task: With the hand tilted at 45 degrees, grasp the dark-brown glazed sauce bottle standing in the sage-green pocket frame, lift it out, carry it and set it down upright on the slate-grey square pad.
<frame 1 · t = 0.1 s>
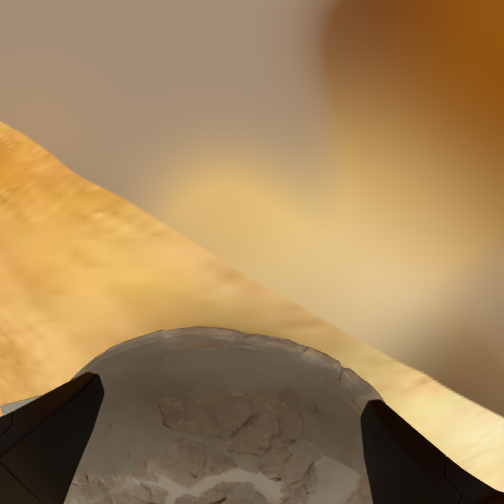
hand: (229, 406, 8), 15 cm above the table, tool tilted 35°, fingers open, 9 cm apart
ceramic bowl: (226, 451, 21), on the table
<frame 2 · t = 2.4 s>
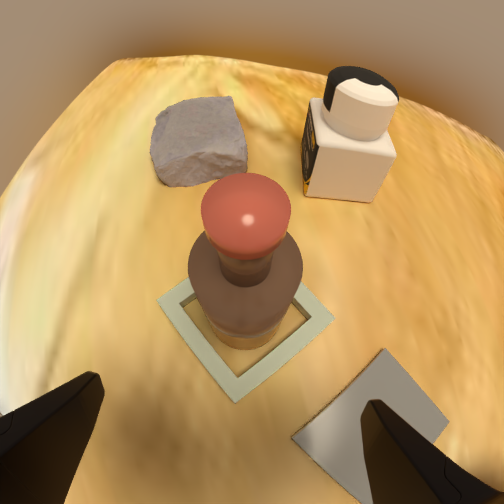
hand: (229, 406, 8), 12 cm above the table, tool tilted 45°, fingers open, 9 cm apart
slate pad: (378, 433, 18), on the table
medicine bottle: (334, 175, 29), on the table
stone block: (196, 149, 31), on the table
sauce bottle: (245, 282, 16), in the pocket frame
pocket frame: (244, 315, 22), on the table
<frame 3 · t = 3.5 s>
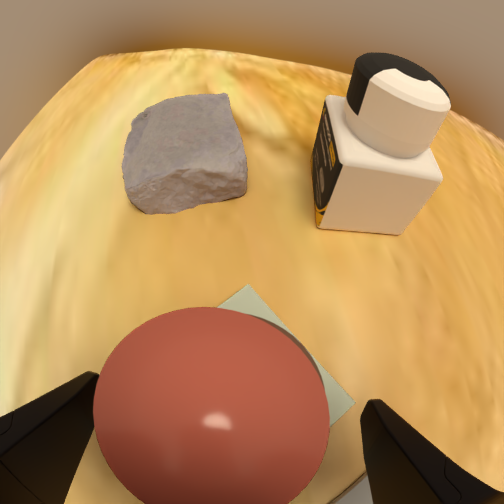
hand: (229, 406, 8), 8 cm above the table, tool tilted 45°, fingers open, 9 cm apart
medicine bottle: (354, 197, 23), on the table
stone block: (182, 161, 24), on the table
sauce bottle: (231, 402, 9), in the pocket frame
pocket frame: (236, 397, 15), on the table
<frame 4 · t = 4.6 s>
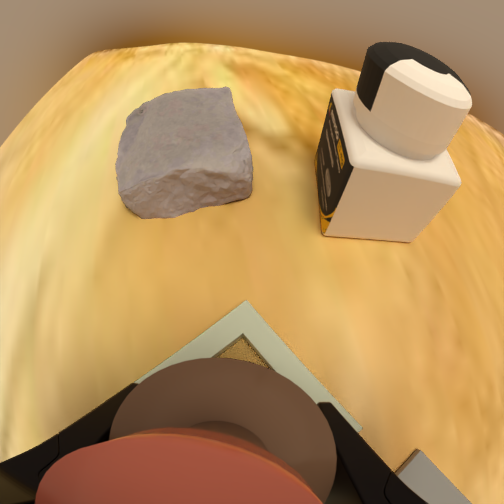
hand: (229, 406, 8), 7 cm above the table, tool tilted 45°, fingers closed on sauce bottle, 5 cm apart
medicine bottle: (361, 201, 21), on the table
stone block: (181, 160, 22), on the table
sauce bottle: (225, 447, 7), in the pocket frame, touching gripper
pocket frame: (233, 423, 14), on the table
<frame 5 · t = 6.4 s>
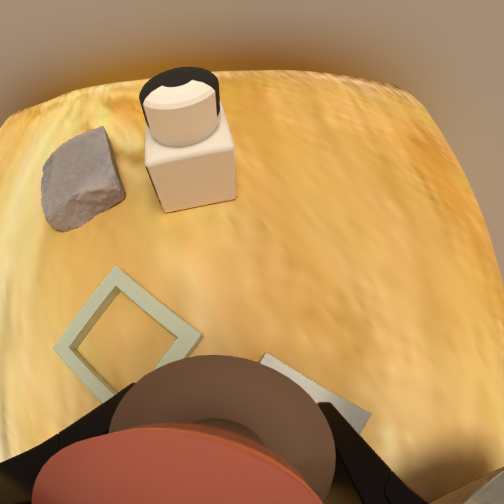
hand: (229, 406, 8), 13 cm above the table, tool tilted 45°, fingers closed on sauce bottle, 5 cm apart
slate pad: (284, 438, 18), on the table
medicine bottle: (196, 180, 29), on the table
stone block: (83, 187, 29), on the table
sauce bottle: (224, 445, 7), point 14 cm above the table, touching gripper
pocket frame: (124, 346, 21), on the table
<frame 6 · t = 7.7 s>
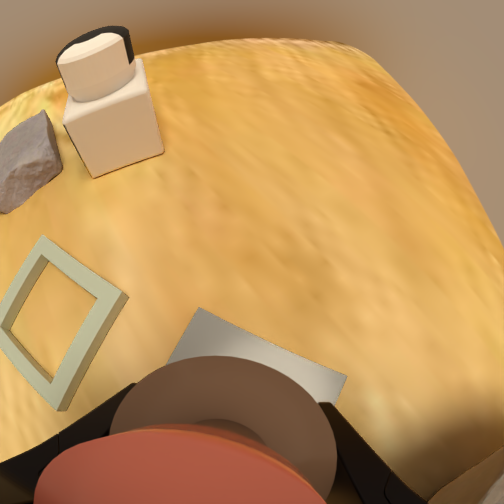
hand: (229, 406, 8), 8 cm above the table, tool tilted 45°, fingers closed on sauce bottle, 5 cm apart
slate pad: (234, 416, 15), on the table
medicine bottle: (125, 144, 25), on the table
stone block: (26, 170, 24), on the table
sauce bottle: (225, 446, 7), point 8 cm above the table, touching gripper
pocket frame: (51, 319, 17), on the table
when the fingers open (8 cm above the table, at t = 8.1 s): sauce bottle stays where it is, resting on slate pad.
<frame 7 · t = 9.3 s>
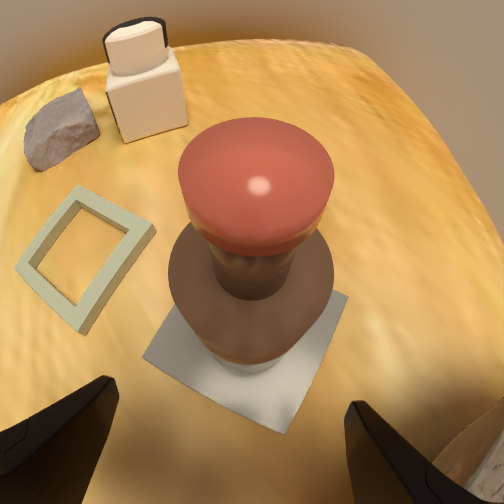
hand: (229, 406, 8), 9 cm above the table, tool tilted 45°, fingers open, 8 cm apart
slate pad: (248, 331, 18), on the table
medicine bottle: (153, 119, 29), on the table
ceramic bowl: (458, 486, 11), point 1 cm above the table, touching gripper
stone block: (61, 138, 28), on the table
sauce bottle: (250, 292, 12), on the slate pad
pocket frame: (80, 254, 20), on the table
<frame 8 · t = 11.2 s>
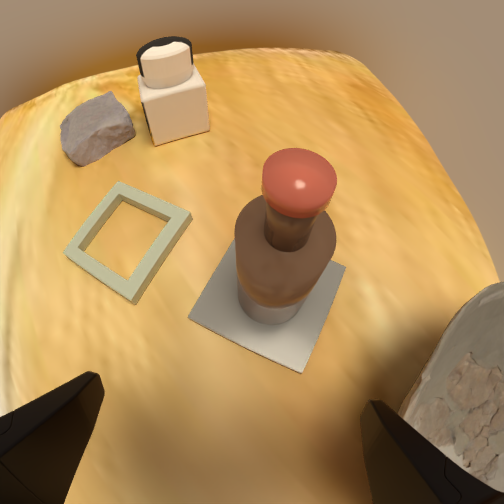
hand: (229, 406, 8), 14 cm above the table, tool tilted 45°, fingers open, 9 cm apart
slate pad: (270, 293, 24), on the table
medicine bottle: (177, 124, 34), on the table
ceramic bowl: (443, 431, 18), on the table
stone block: (96, 137, 34), on the table
sauce bottle: (281, 253, 17), on the slate pad
pocket frame: (126, 239, 26), on the table
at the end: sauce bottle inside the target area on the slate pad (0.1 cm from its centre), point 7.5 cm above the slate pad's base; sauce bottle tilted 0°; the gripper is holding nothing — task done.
